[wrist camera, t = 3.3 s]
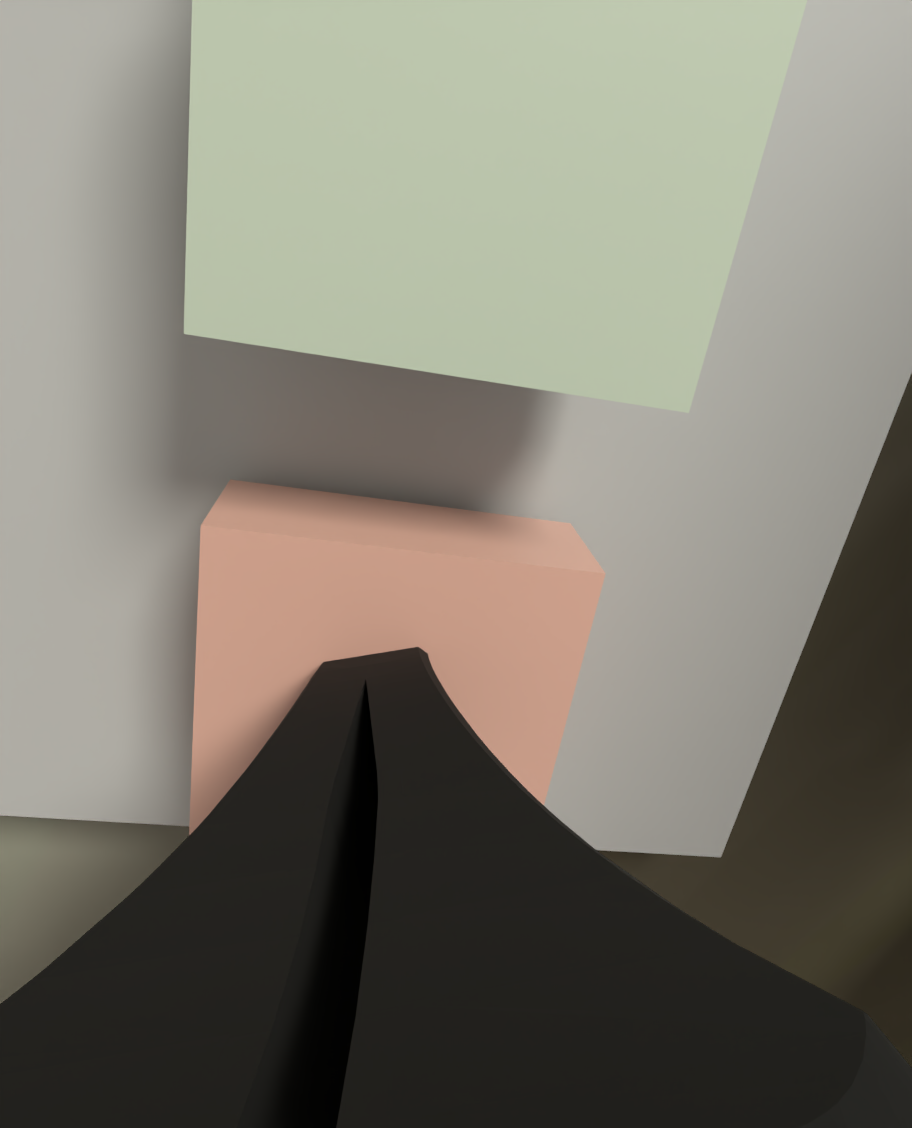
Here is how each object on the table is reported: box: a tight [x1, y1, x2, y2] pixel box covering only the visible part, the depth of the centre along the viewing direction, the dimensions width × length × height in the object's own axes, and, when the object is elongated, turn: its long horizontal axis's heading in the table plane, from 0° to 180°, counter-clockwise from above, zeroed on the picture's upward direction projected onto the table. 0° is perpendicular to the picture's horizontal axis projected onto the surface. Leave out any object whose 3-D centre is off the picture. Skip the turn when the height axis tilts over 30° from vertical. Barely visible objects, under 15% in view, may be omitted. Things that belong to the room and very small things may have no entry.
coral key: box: [189, 479, 606, 835], centre depth 11 cm, size 5×5×3 cm
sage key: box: [184, 0, 807, 413], centre depth 8 cm, size 5×5×3 cm
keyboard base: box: [0, 0, 912, 857], centre depth 10 cm, size 14×22×2 cm, turn 170°
